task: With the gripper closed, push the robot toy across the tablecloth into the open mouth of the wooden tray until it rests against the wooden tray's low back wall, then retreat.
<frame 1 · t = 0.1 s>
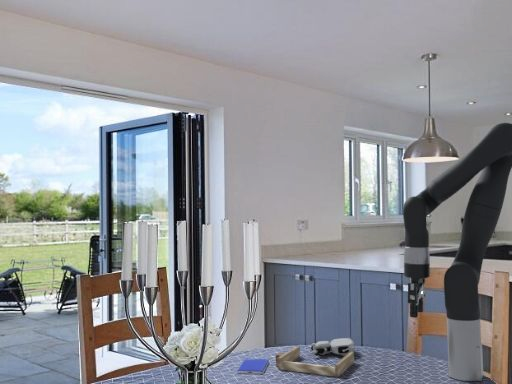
hand: (416, 314, 163), 17 cm above the table, tool pointing down, fingers open, 8 cm apart
robot toy: (333, 354, 185), on the table
hard drive: (253, 370, 171), on the table
wooden tray: (317, 365, 172), on the table
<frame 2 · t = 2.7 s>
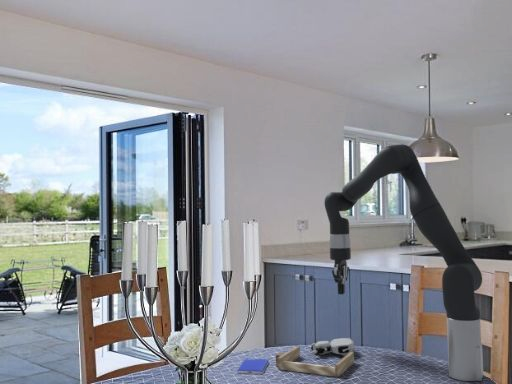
hand: (341, 293, 195), 19 cm above the table, tool pointing down, fingers closed
nothing on the table moved.
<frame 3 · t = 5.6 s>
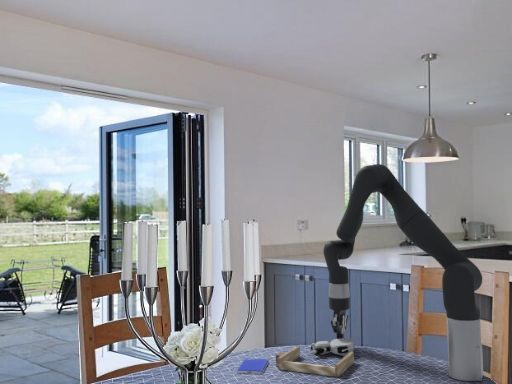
hand: (340, 343, 193), 1 cm above the table, tool pointing down, fingers closed
nothing on the table moved.
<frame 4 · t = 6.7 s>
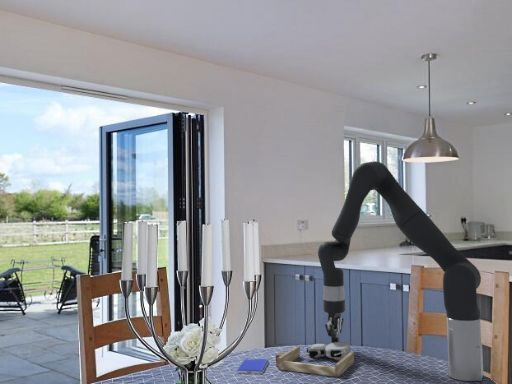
hand: (335, 347, 188), 1 cm above the table, tool pointing down, fingers closed
robot toy: (328, 358, 181), on the table, touching gripper
everything else where it was.
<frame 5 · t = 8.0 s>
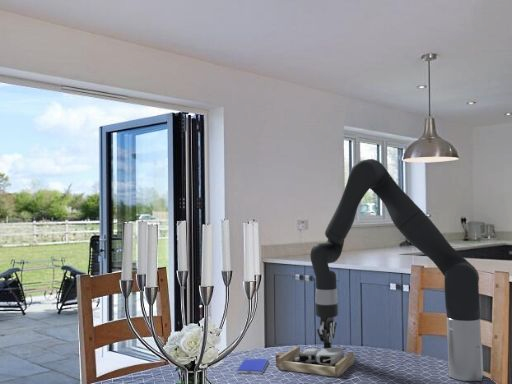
hand: (327, 353, 181), 1 cm above the table, tool pointing down, fingers closed
robot toy: (320, 364, 174), on the table
everything else where it was.
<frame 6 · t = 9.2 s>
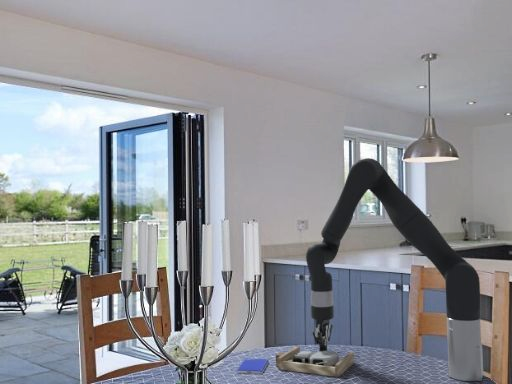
hand: (323, 356, 178), 1 cm above the table, tool pointing down, fingers closed
robot toy: (315, 367, 171), on the table, touching wooden tray, gripper
everything else where it was.
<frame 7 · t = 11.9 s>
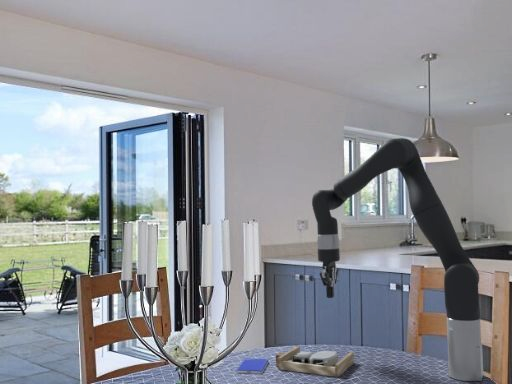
hand: (330, 297, 185), 19 cm above the table, tool pointing down, fingers closed
robot toy: (314, 367, 171), on the table
everything else where it was.
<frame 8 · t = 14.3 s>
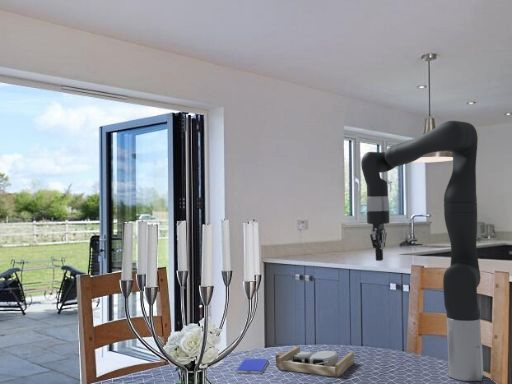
hand: (379, 260, 183), 32 cm above the table, tool pointing down, fingers closed
nothing on the table moved.
at the end: robot toy inside the target area (0.6 cm from its centre), on the table; robot toy moved 16.1 cm from its start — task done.
